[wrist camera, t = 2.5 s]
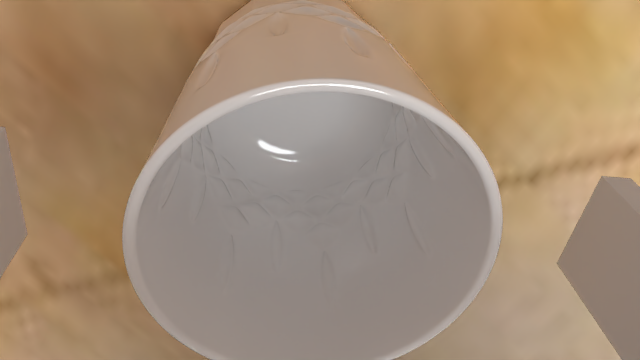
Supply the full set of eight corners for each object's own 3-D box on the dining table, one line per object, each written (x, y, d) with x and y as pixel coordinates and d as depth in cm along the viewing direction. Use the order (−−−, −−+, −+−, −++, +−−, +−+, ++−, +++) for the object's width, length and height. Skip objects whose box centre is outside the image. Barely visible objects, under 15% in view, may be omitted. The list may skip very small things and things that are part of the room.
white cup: (145, 93, 19) (46, 284, 11) (282, -86, 16) (298, -22, 8) (305, 204, 22) (328, 417, 14) (443, 70, 19) (576, 234, 11)
